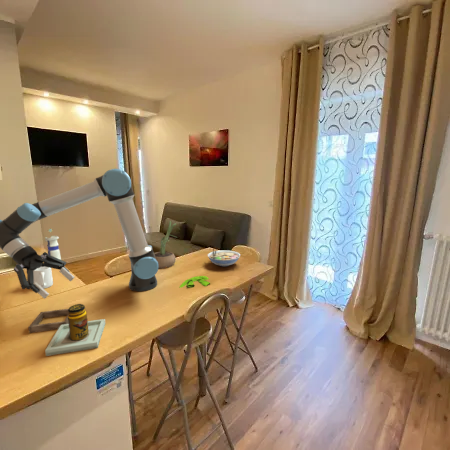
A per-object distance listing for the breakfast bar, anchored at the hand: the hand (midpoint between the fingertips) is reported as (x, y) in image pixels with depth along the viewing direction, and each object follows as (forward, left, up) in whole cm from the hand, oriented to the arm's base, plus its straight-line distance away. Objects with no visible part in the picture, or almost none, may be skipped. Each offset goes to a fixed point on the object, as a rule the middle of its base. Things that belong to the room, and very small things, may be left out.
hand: (60, 287), depth 106 cm
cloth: (-60, -24, -16) cm, 67 cm away
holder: (+4, 0, -15) cm, 15 cm away
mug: (+22, -42, -15) cm, 49 cm away
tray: (-9, +15, -15) cm, 23 cm away
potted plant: (-46, -64, -15) cm, 80 cm away
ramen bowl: (-84, -51, -15) cm, 99 cm away
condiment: (-9, +16, -14) cm, 23 cm away
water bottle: (+31, -87, -15) cm, 93 cm away
